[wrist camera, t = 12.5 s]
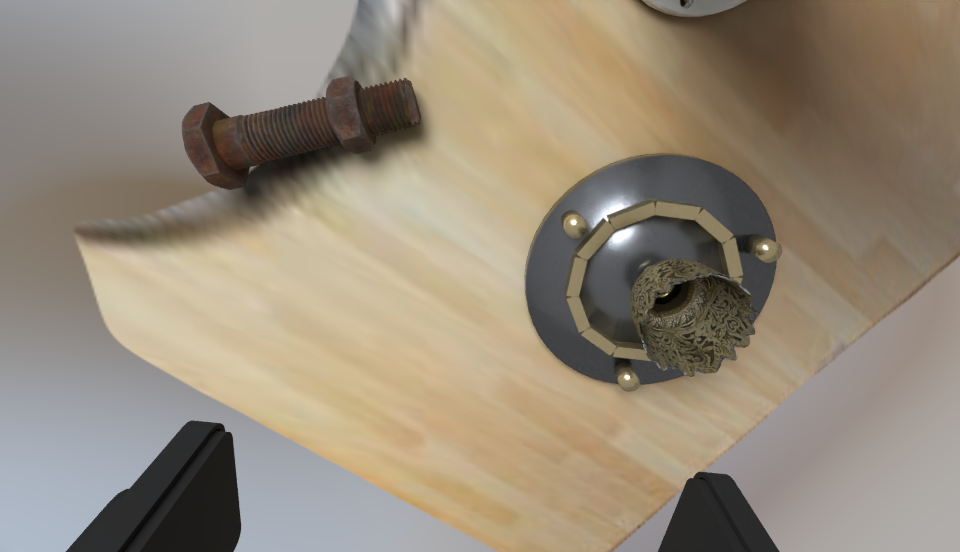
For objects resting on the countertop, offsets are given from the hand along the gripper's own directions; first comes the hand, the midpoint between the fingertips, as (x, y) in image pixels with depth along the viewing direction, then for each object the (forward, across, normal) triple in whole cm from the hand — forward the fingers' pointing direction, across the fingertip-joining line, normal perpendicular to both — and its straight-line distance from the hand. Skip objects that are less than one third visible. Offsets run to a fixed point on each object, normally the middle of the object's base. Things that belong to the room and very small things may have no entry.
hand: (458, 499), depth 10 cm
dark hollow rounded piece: (+27, -16, +5) cm, 32 cm away
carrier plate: (+28, -15, +5) cm, 32 cm away
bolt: (+29, +12, -4) cm, 31 cm away
